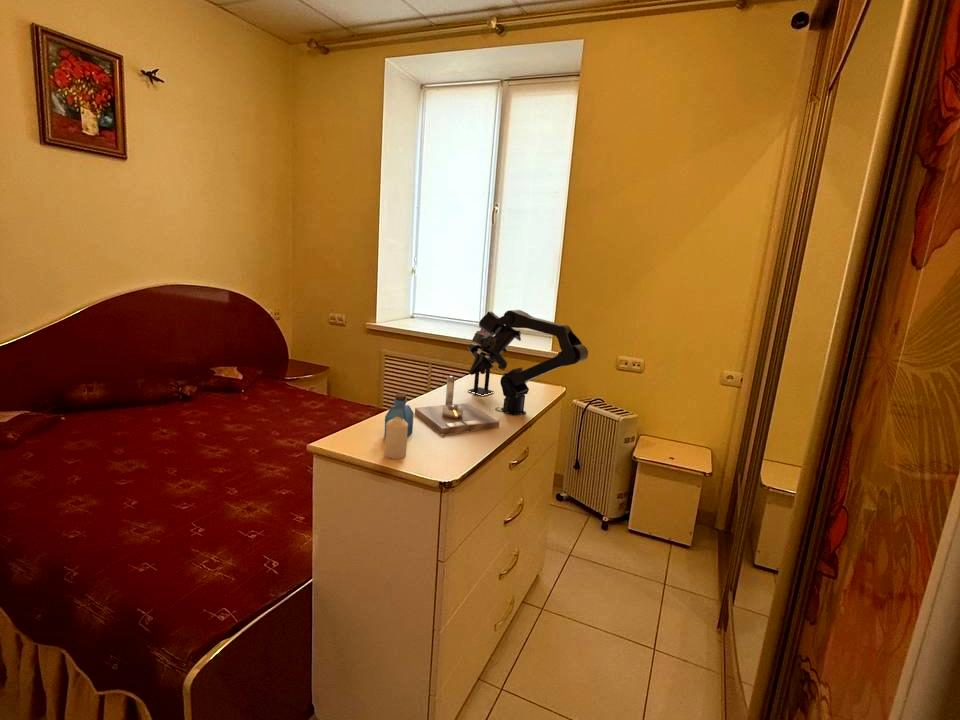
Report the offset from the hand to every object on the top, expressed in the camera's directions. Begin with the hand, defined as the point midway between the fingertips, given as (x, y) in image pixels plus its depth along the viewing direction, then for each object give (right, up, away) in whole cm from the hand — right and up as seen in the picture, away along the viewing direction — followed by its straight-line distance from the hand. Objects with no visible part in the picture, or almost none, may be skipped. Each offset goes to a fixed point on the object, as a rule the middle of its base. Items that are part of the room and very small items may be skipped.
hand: (470, 373), depth 167 cm
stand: (-4, -15, -8) cm, 17 cm away
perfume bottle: (-20, -17, -24) cm, 36 cm away
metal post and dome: (-6, -12, -9) cm, 16 cm away
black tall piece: (+4, -8, +27) cm, 28 cm away
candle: (-19, -20, -38) cm, 47 cm away
